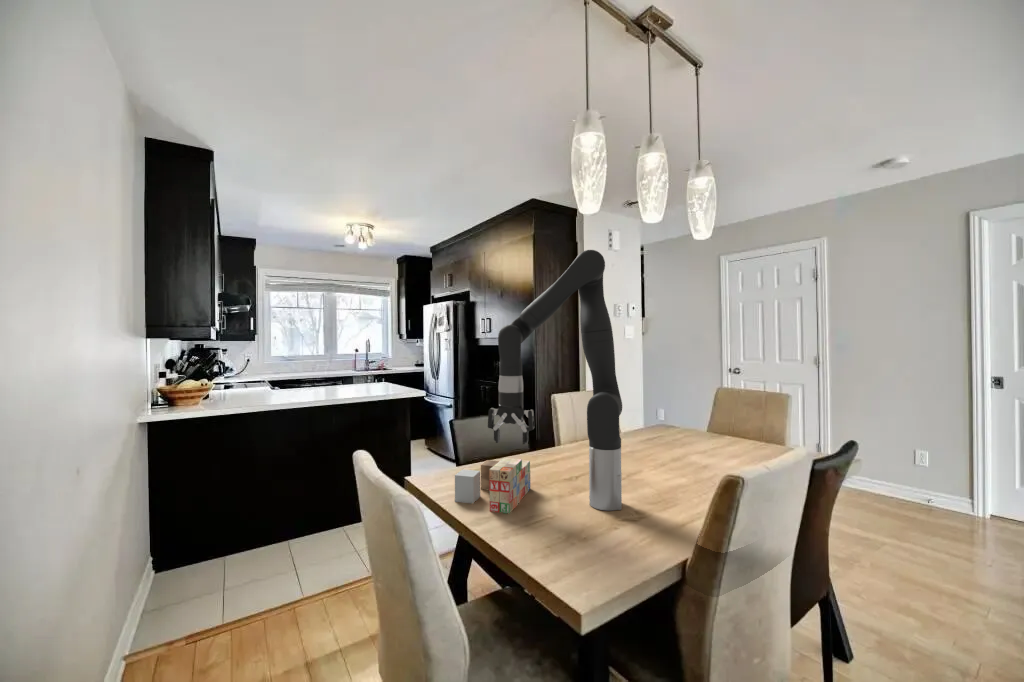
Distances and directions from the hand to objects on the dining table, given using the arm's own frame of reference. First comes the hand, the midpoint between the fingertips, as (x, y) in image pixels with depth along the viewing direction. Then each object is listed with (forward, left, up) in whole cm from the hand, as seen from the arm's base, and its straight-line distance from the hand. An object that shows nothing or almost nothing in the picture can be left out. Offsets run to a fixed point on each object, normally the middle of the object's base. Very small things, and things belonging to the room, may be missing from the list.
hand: (510, 443), depth 128 cm
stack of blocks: (0, 0, -18) cm, 18 cm away
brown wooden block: (+9, -9, -17) cm, 21 cm away
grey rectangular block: (+13, +3, -17) cm, 22 cm away
